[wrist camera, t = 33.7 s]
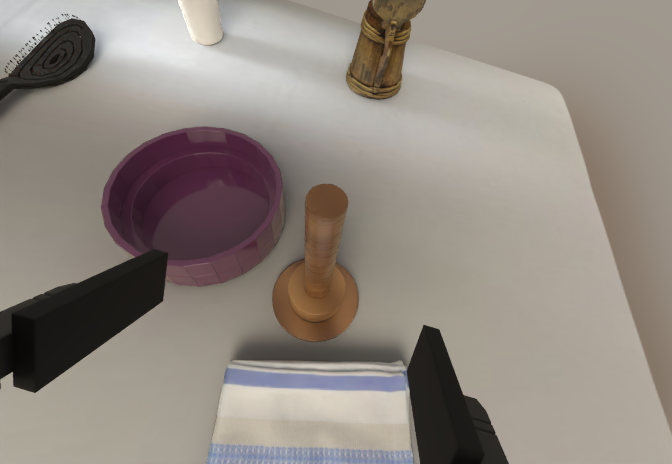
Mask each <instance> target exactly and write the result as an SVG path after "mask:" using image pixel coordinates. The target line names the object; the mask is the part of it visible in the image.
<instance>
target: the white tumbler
mask: <svg viewBox="0 0 672 464" xmlns="http://www.w3.org/2000/svg"><path fill="white" fill-rule="evenodd" d="M178 3H179V5H180V8H181V11H182V13H183V16H184V19H185V21H186V24H187V27H188V30H189V33H190V36H191V38H192V39H193V40H194V41H195V42H196V43H198V44H202V45H212V44H215V43H218V42H219V41H220V40H221V39H222V37H223V30H222V25H221V19H220V11H219V4H218V0H178Z"/></svg>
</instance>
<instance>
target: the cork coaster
mask: <svg viewBox="0 0 672 464" xmlns="http://www.w3.org/2000/svg"><path fill="white" fill-rule="evenodd" d="M303 263H305V259H303V260H300V261H298V262H295V263H294V264H292V265H290V266H289V267H288V268H287V269H285V271H284V272H283V273H282V274H281V275H280V277H279V278H278V280H277V282H276V284H275V287H274V291H273V308H274V312H275V315H276V317H277V319H278V321H279V323H280V324H281V326H282V327H283V328H284V329H285V330H286V331H287V332H288V333H290V334H291V335H293V336H294V337H296V338H298V339H301V340H304V341H309V342H321V341H326V340H330V339H332V338H334V337H336V336H338V335H340V334H341V333H342V332H343V331H345V330H346V329H347V327H348V326H349V325H350V324H351V322H352V320H353V319H354V317H355V314H356V312H357V308H358V291H357V287H356V284H355V282H354V280H353V278H352V277H351V275H350V274H349V273H348V272H347V270H345V269H344V268H343V267H342V266H341V265H339V264H337V263H336V262H335V267H337V268H338V269H339V271H340V272H341V273H342V275H343V277H344V280H345V284H346V291H345V296H344V298H343V301H342V304H341V306H340V308H339V310H338V311H337V312H336V313H335V314H334V315H333V316H332V317H331V318H330V319H328V320H327V321H324V322H321V323H310V322H306V321H304V320H302V319H301V318H300V317H299V316H298V315H297V314H296V313H295V311H294V310H293V308H292V306H291V304H290V300H289V293H288V283H289V279H290V276H291V274H292V273H293V271H294V270H295V269H296V268H297V267H298V266H300V265H301V264H303Z"/></svg>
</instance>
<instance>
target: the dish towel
mask: <svg viewBox="0 0 672 464" xmlns="http://www.w3.org/2000/svg"><path fill="white" fill-rule="evenodd" d="M407 369H408V367H406V366H404V364H403V362H402V361H401V360H400V361H396V362H392V363H384V362H357V361H352V362H319V361H278V360H231V361H230V363H228V364H227V368H226V372H225V377H224V384H223V387H222V391H221V395H220V400H219V406H218V412H217V418H216V422H215V427H214V431H213V436H212V441H211V445H210V451H209V455H208V459H207V464H413V454H412V449H411V441H410V414H409V405H410V404H409V396H410V391H409V385H408V378H407Z"/></svg>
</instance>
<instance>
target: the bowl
mask: <svg viewBox="0 0 672 464" xmlns="http://www.w3.org/2000/svg"><path fill="white" fill-rule="evenodd" d="M101 210H102V214H103V219H104V224H105V227H106V229H107V230H108V232H109V233H110V235H111V236H112V238H113V239H114V241H115V242H116V244H117V245H118V246H120V247H121V248H122V249H123V250H124V251H125V252H126V253H127V254H128V255H129V256H131V257H132V258H135V257H137V256H139V255H142V254H144V253H146V252H148V251H150V250H153V249H156V250H160V251H164V252H167V253H168V261H167V270H166V279H165V281H168V282H170V283H173V284H177V285H186V286H205V285H211V284H217V283H222V282H225V281H228V280H230V279H233V278H235V277H238V276H240V275H242V274H243V273H246V272H247V271H249V270H250V269H251V268H253V267H254V266H256V265H257V264H259V263H260V262H261V261H262V260H263V259H264V258H265V257H266V256H267V255H268V253H269V252H270V251H271V250H272V249H273V248H274V246H275V244H276V242H277V240H278V238H279V236H280V234H281V232H282V229H283V223H284V216H285V208H284V196H283V186H282V180H281V174H280V170H279V168H278V166H277V164H276V162H275V160H274V158H273V156H272V155H271V154H270V153H269V152H268V151H267V150H266V149H265V148H264V147H263V146H262V145H261V144H260V143H258V142H257V141H255V140H253V139H251V138H250V137H248V136H246V135H245V134H241V133H238V132H235V131H232V130H228V129H224V128H214V127H194V128H184V129H180V130H176V131H172V132H168V133H165V134H162V135H160V136H158V137H155V138H153V139H151V140H149V141H147V142H145V143H143V144H142V145H140V146H139V147H137V148H136V149H135V150H133V151H132V152H130V153H129V154H128V155H126V157H125V158H124V159H123V160H122V161H121V162H120V163H119V164H118V166H117V167H116V168H115V169H114V170H113V172H112V174H111V176H110V178H109V180H108V182H107V184H106V186H105V188H104V192H103V199H102V205H101Z"/></svg>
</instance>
